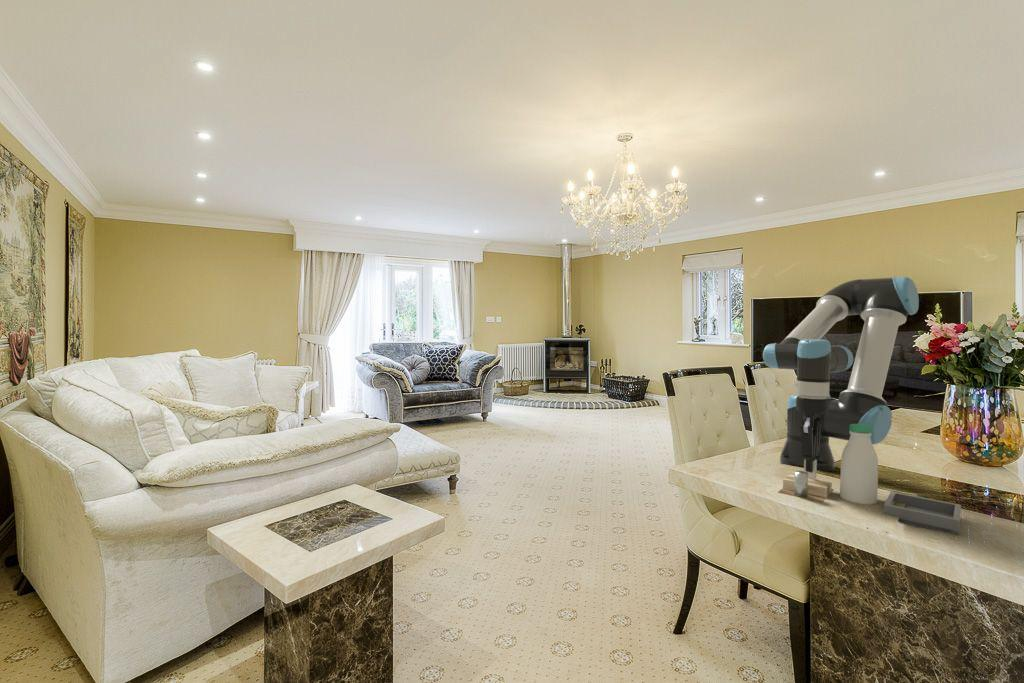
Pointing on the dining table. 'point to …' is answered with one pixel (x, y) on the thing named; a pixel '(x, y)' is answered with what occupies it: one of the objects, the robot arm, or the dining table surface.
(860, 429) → the milk bottle
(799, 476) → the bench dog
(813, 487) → the light wooden block
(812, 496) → the board
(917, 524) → the tray
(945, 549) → the dining table surface
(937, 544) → the dining table surface
